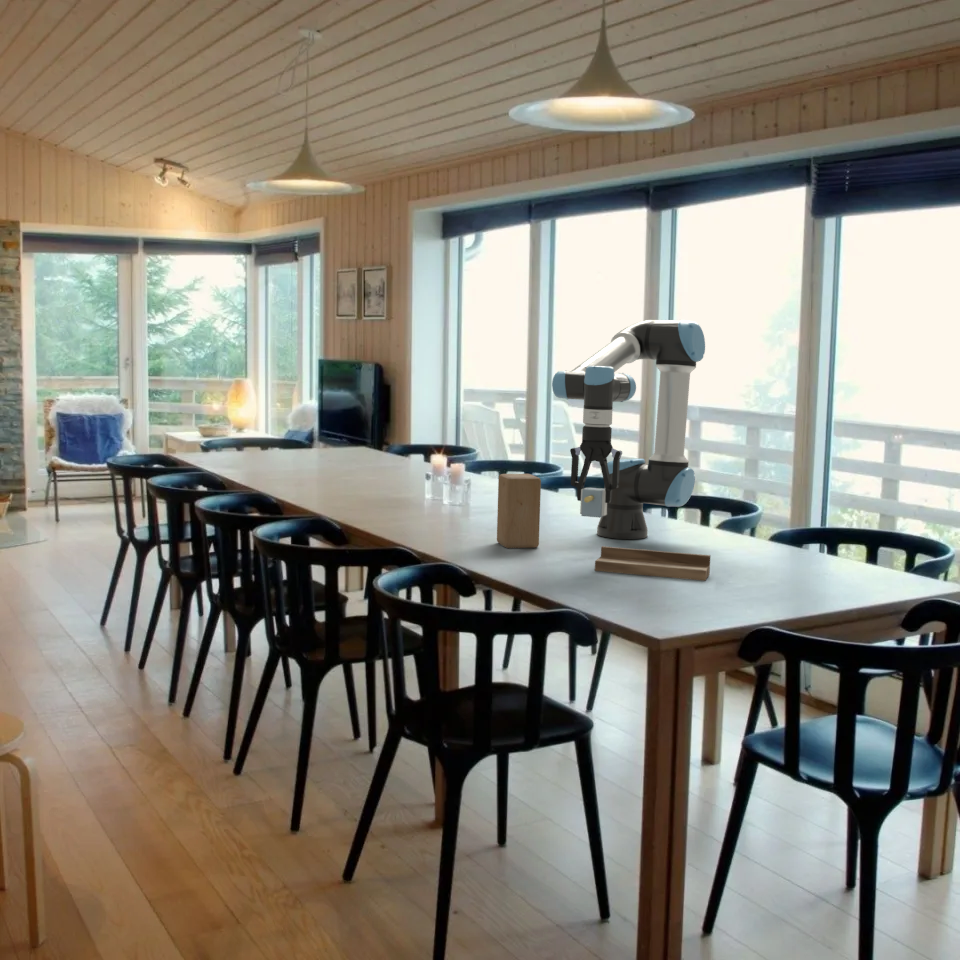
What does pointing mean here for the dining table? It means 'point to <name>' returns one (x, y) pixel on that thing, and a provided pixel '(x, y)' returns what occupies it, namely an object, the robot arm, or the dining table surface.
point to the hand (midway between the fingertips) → (593, 514)
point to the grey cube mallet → (592, 502)
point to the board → (654, 563)
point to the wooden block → (518, 510)
